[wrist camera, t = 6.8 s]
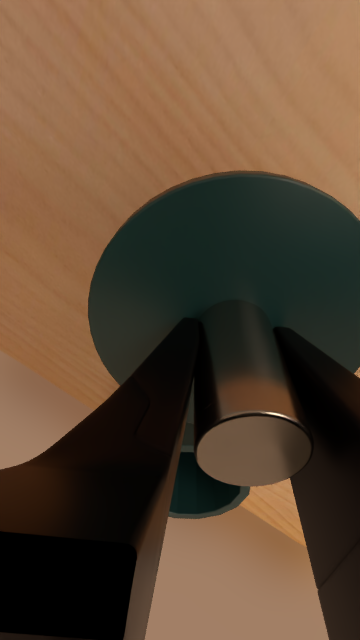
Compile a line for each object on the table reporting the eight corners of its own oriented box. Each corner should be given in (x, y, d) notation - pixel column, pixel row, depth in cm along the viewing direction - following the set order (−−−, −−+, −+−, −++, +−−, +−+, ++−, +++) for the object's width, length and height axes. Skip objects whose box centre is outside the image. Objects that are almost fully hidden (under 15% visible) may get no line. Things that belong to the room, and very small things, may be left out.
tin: (126, 363, 26) (98, 463, 19) (215, 334, 24) (224, 431, 17) (166, 423, 30) (156, 526, 22) (246, 401, 28) (266, 507, 20)
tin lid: (43, 246, 9) (-93, 359, 5) (339, 100, 7) (567, 68, 3) (168, 424, 13) (154, 576, 9) (383, 364, 11) (506, 524, 7)
